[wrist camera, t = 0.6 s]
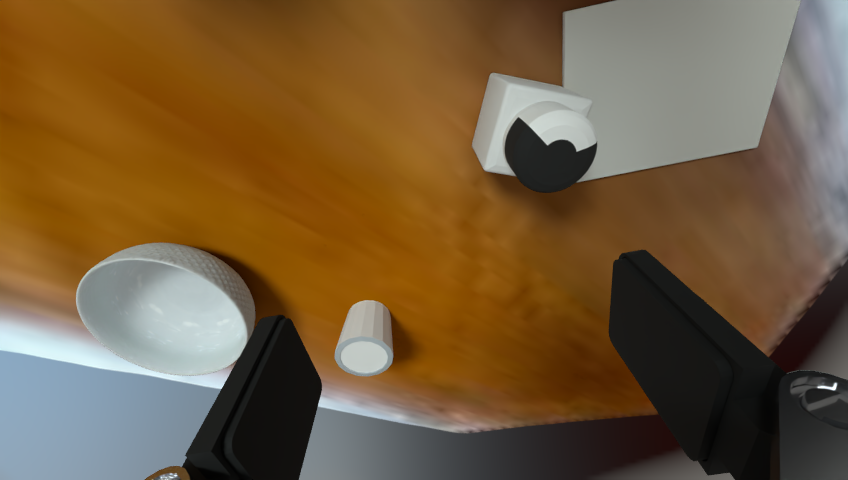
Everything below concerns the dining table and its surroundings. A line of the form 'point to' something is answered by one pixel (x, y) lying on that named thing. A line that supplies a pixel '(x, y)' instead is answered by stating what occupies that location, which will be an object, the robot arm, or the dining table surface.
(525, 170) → the medicine bottle
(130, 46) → the dining table surface
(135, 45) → the dining table surface
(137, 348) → the cereal bowl
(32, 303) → the dining table surface
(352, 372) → the shot glass
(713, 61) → the mat
